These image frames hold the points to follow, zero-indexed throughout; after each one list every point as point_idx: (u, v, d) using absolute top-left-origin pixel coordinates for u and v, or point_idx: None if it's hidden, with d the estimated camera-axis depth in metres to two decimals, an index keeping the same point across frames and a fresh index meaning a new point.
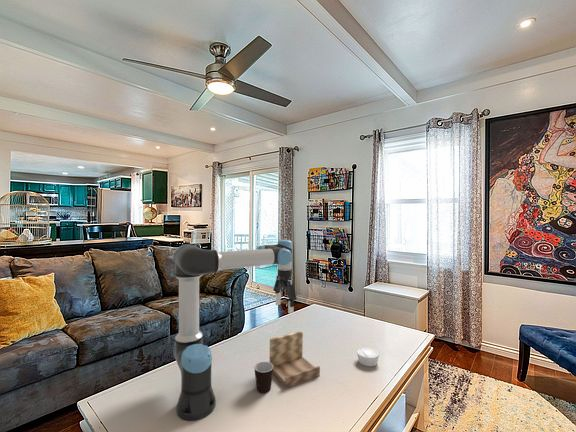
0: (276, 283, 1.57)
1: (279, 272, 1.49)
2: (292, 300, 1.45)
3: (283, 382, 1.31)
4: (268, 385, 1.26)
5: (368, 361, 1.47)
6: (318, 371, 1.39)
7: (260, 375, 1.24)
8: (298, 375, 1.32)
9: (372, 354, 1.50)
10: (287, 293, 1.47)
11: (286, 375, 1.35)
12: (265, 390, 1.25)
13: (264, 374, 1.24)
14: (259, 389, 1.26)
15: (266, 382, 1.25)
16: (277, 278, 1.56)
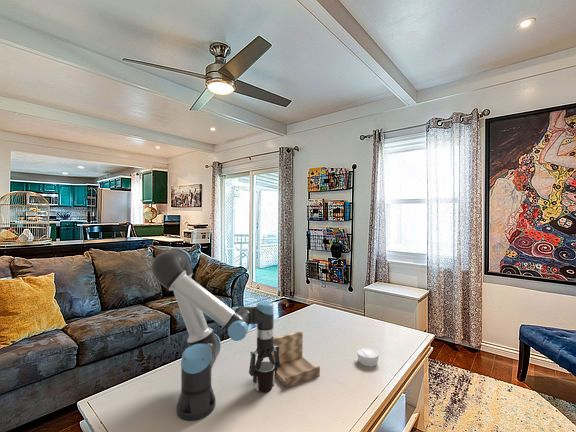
0: (274, 354, 1.34)
1: None
2: None
3: (283, 382, 1.31)
4: (269, 385, 1.26)
5: (368, 361, 1.47)
6: (318, 371, 1.39)
7: (261, 375, 1.25)
8: (298, 375, 1.32)
9: (372, 354, 1.50)
10: None
11: (286, 375, 1.35)
12: (266, 390, 1.26)
13: (266, 374, 1.25)
14: (260, 389, 1.26)
15: (267, 382, 1.25)
16: None
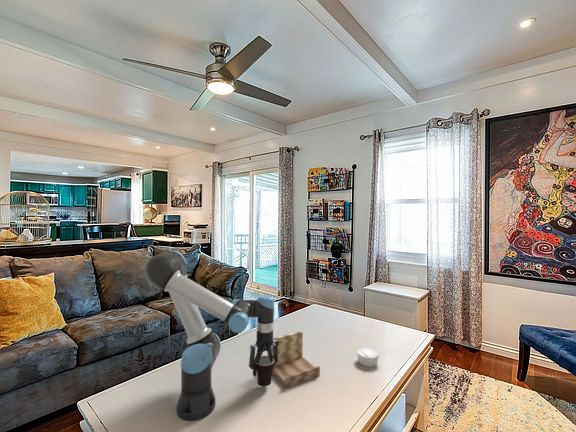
0: (273, 348, 1.33)
1: None
2: None
3: (283, 382, 1.31)
4: (269, 378, 1.26)
5: (368, 361, 1.47)
6: (318, 371, 1.39)
7: (261, 368, 1.25)
8: (298, 375, 1.32)
9: (372, 354, 1.50)
10: None
11: (286, 375, 1.35)
12: (265, 384, 1.26)
13: (265, 368, 1.25)
14: (260, 382, 1.26)
15: (267, 375, 1.26)
16: None
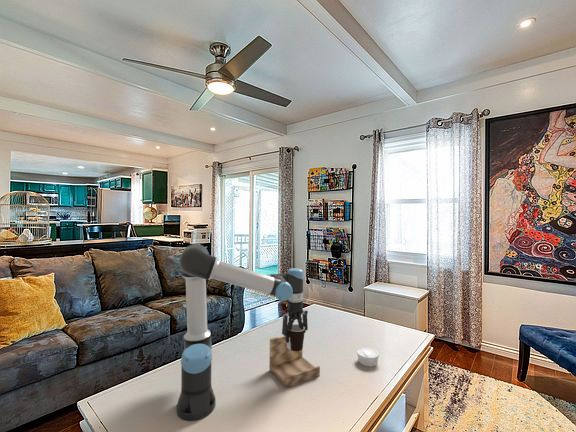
0: None
1: None
2: None
3: (283, 382, 1.31)
4: (301, 344, 1.37)
5: (368, 361, 1.47)
6: (318, 371, 1.39)
7: (293, 334, 1.35)
8: (298, 375, 1.32)
9: (372, 354, 1.50)
10: None
11: (286, 375, 1.35)
12: (298, 349, 1.36)
13: (298, 334, 1.35)
14: (293, 348, 1.37)
15: (299, 341, 1.36)
16: None
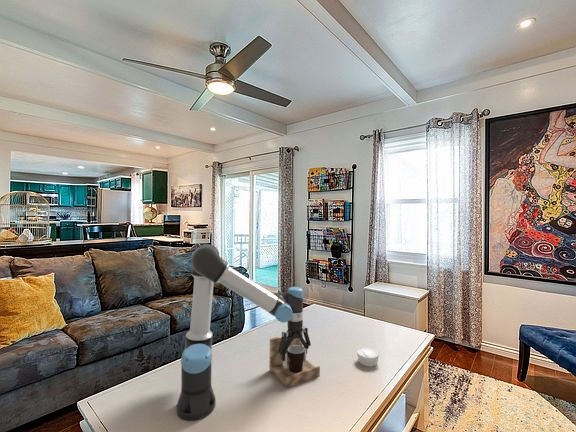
0: None
1: None
2: None
3: (283, 382, 1.31)
4: (300, 365, 1.37)
5: (368, 361, 1.47)
6: (318, 371, 1.39)
7: (293, 356, 1.36)
8: (298, 375, 1.32)
9: (372, 354, 1.50)
10: None
11: (286, 375, 1.35)
12: (298, 370, 1.37)
13: (297, 356, 1.36)
14: (292, 369, 1.37)
15: (299, 363, 1.36)
16: None
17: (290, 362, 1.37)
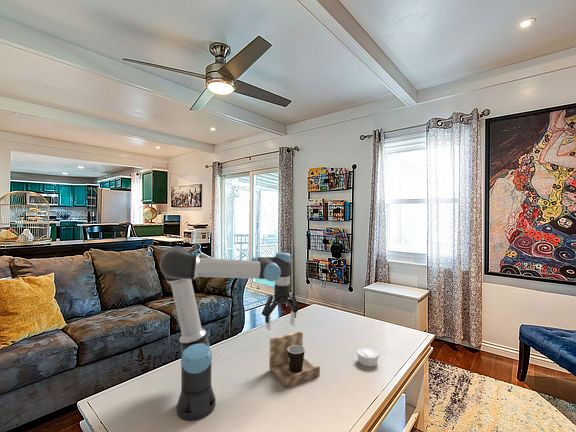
0: (292, 300, 1.45)
1: None
2: (265, 315, 1.36)
3: (283, 382, 1.31)
4: (300, 365, 1.37)
5: (368, 361, 1.47)
6: (318, 371, 1.39)
7: (293, 356, 1.36)
8: (298, 375, 1.32)
9: (372, 354, 1.50)
10: None
11: (286, 375, 1.35)
12: (298, 370, 1.37)
13: (297, 356, 1.36)
14: (292, 369, 1.37)
15: (299, 363, 1.36)
16: None
17: (290, 362, 1.37)
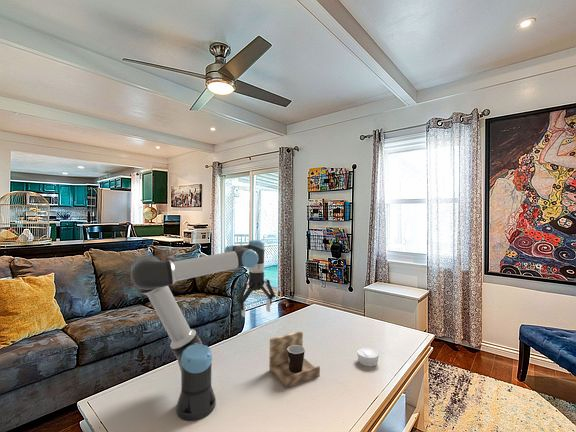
0: (267, 287, 1.47)
1: None
2: (239, 302, 1.38)
3: (283, 382, 1.31)
4: (300, 365, 1.37)
5: (368, 361, 1.47)
6: (318, 371, 1.39)
7: (293, 356, 1.36)
8: (298, 375, 1.32)
9: (372, 354, 1.50)
10: None
11: (286, 375, 1.35)
12: (298, 370, 1.37)
13: (297, 356, 1.36)
14: (292, 369, 1.37)
15: (299, 363, 1.36)
16: None
17: (290, 362, 1.37)
